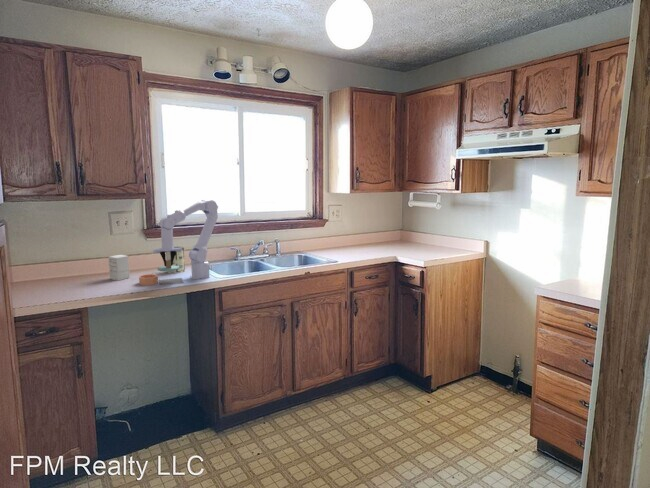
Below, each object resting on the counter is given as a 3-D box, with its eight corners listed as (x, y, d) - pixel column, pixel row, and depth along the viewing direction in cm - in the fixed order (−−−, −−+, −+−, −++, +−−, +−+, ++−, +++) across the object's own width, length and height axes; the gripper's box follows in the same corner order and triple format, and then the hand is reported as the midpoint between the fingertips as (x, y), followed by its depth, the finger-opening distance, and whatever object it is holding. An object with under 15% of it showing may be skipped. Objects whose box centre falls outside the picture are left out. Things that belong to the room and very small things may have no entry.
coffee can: (171, 269, 258) (170, 246, 256) (187, 269, 257) (186, 246, 255) (163, 273, 248) (162, 249, 246) (180, 273, 247) (179, 249, 245)
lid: (178, 266, 233) (177, 257, 232) (180, 270, 223) (180, 261, 222) (156, 267, 228) (156, 259, 228) (158, 271, 218) (157, 262, 218)
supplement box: (121, 276, 239) (120, 254, 237) (130, 278, 235) (128, 255, 233) (109, 279, 233) (107, 256, 231) (117, 280, 229) (116, 257, 227)
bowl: (157, 280, 229) (157, 273, 229) (158, 284, 221) (158, 277, 221) (139, 282, 226) (138, 275, 225) (139, 286, 218) (139, 278, 217)
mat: (181, 278, 235) (181, 277, 235) (184, 283, 224) (184, 282, 224) (158, 280, 230) (158, 279, 230) (159, 285, 219) (159, 285, 219)
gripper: (152, 242, 217) (154, 268, 219) (182, 240, 223) (183, 266, 225) (152, 240, 223) (153, 265, 225) (181, 238, 229) (182, 263, 231)
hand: (168, 265), depth 225 cm, fingers closed on lid, 2 cm apart
